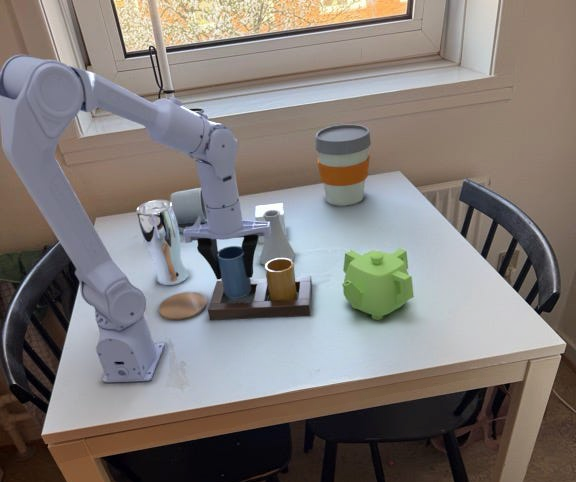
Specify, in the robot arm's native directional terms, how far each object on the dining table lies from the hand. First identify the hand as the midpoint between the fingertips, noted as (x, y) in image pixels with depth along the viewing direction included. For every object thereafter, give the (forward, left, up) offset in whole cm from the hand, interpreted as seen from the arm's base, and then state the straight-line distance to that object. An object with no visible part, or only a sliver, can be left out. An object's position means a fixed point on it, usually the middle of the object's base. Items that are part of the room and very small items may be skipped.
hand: (235, 275), depth 97 cm
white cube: (+27, -4, -6) cm, 28 cm away
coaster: (0, +11, -6) cm, 12 cm away
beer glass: (+11, +15, -6) cm, 20 cm away
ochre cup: (0, -8, -6) cm, 10 cm away
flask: (+16, -6, -6) cm, 18 cm away
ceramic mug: (+36, +16, -6) cm, 40 cm away
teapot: (-3, -25, -6) cm, 25 cm away
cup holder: (0, -4, -6) cm, 7 cm away
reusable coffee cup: (+45, -20, -6) cm, 49 cm away
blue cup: (0, 0, -3) cm, 3 cm away
